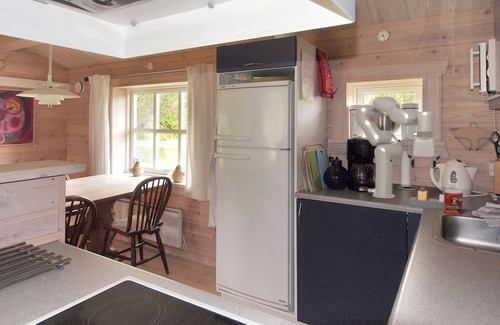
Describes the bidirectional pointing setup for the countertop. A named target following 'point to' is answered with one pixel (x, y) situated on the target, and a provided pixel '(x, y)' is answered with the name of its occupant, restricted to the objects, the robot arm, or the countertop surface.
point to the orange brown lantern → (422, 194)
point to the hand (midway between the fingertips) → (423, 167)
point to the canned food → (453, 201)
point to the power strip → (427, 202)
